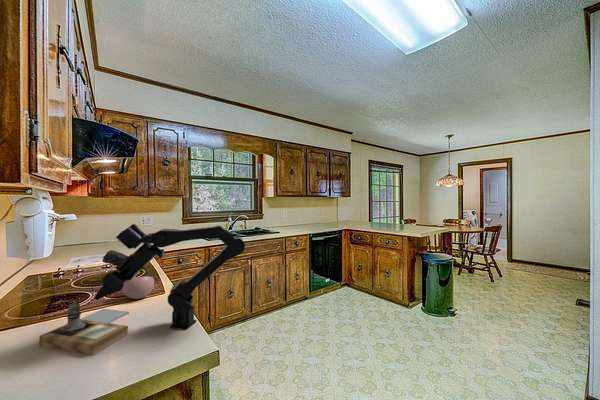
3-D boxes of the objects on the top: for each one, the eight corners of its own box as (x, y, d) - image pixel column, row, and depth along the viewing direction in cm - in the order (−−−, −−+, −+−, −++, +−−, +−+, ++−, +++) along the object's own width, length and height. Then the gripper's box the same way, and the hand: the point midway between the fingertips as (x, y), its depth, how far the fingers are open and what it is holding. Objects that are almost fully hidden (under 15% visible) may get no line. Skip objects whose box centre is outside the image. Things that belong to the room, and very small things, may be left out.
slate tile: (129, 313, 102) (129, 311, 102) (99, 328, 90) (99, 326, 90) (103, 310, 104) (103, 308, 104) (71, 324, 92) (71, 322, 92)
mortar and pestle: (151, 291, 126) (151, 267, 126) (156, 299, 116) (156, 273, 116) (121, 296, 118) (121, 271, 118) (123, 305, 109) (124, 278, 109)
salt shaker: (71, 344, 80) (71, 304, 80) (55, 341, 81) (56, 302, 81) (90, 334, 86) (90, 297, 86) (75, 332, 87) (76, 296, 87)
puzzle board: (127, 334, 86) (127, 324, 86) (93, 355, 75) (93, 343, 75) (78, 327, 90) (78, 318, 90) (39, 345, 79) (39, 334, 79)
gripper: (129, 238, 96) (93, 270, 93) (110, 247, 79) (64, 287, 75) (153, 258, 99) (118, 290, 95) (140, 271, 81) (96, 311, 78)
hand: (101, 293), depth 86 cm, fingers open, 9 cm apart
